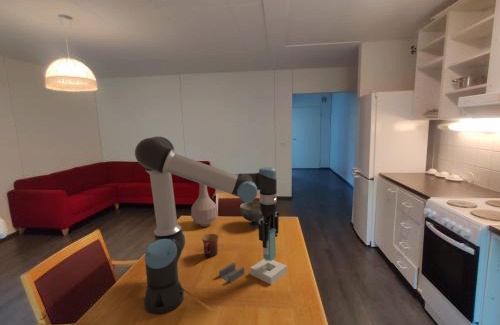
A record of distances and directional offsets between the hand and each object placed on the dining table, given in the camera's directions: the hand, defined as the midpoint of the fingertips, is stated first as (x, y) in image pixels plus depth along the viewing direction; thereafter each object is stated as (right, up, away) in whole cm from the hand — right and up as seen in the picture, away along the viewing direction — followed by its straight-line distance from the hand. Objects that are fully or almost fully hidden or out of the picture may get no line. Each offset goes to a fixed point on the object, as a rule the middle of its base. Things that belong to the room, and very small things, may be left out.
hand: (269, 251), depth 117 cm
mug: (-30, -9, +19) cm, 37 cm away
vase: (-40, -3, +63) cm, 75 cm away
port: (0, -11, +2) cm, 11 cm away
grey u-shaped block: (-17, -12, +1) cm, 21 cm away
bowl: (-6, -3, +59) cm, 60 cm away
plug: (0, -3, 0) cm, 3 cm away
